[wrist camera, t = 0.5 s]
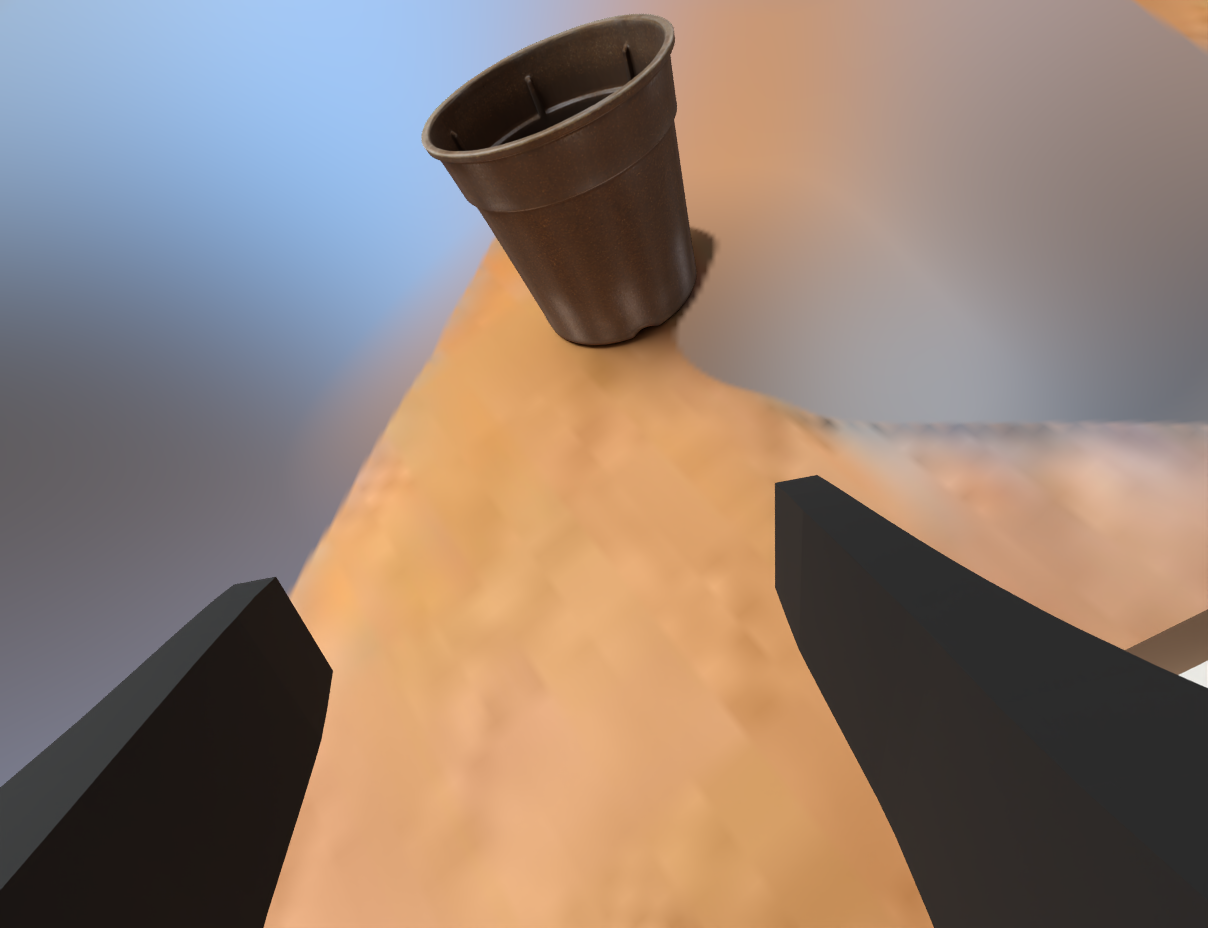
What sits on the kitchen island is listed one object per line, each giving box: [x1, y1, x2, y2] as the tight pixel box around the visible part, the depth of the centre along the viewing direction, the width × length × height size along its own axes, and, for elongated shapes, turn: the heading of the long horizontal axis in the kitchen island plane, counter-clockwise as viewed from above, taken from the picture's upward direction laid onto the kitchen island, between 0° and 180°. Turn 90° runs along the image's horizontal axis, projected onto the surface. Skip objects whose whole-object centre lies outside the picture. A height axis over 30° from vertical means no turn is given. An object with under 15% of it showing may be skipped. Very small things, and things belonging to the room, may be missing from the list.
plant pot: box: [422, 14, 696, 345], centre depth 42 cm, size 16×16×16 cm
